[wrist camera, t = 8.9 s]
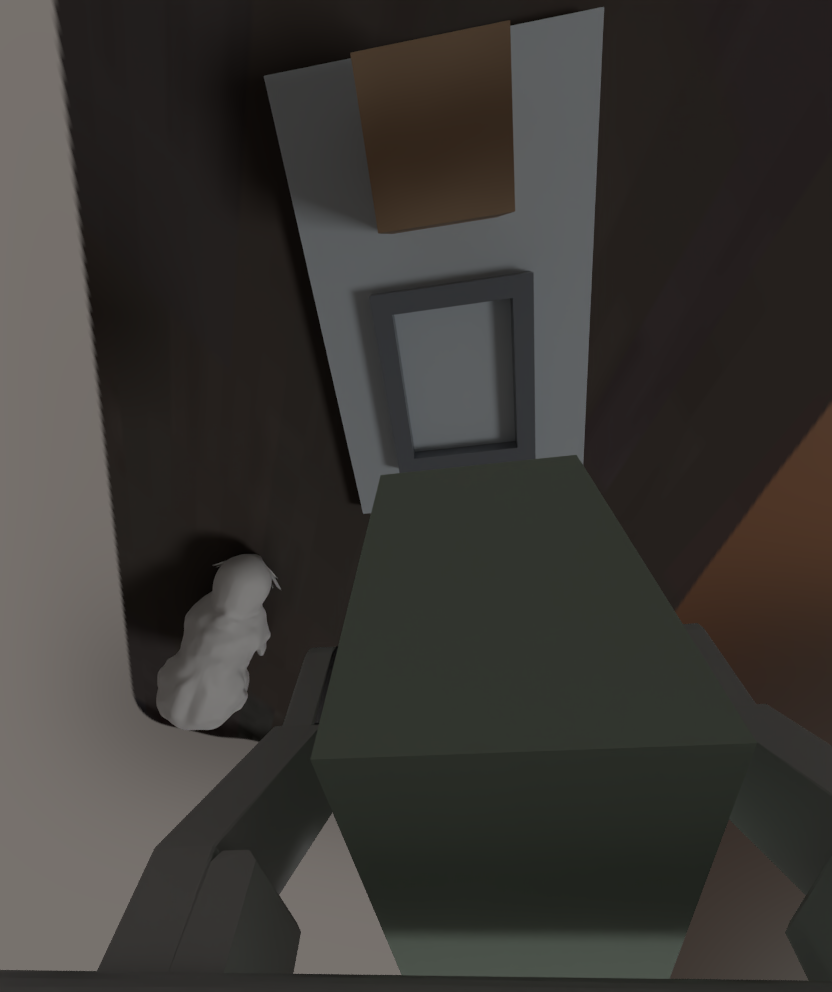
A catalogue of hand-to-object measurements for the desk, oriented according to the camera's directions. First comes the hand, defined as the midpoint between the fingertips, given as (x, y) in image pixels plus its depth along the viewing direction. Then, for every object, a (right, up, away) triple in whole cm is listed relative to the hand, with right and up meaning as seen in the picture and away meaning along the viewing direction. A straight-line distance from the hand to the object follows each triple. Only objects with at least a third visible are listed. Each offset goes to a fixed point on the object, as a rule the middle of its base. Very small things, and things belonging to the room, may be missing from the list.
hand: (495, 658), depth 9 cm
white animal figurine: (-15, -5, +27) cm, 31 cm away
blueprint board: (0, +13, +16) cm, 21 cm away
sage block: (0, +1, +2) cm, 2 cm away
